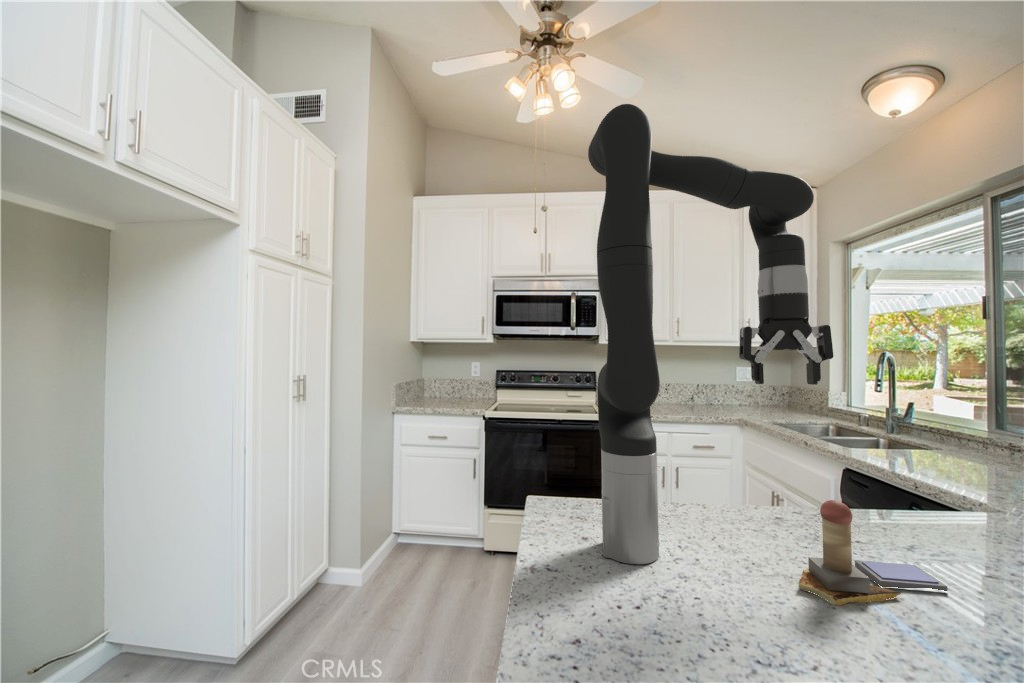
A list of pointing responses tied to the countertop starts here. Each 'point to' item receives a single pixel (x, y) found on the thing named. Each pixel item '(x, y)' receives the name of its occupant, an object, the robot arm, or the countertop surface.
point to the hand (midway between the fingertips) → (785, 384)
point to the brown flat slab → (842, 597)
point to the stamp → (837, 552)
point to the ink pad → (899, 575)
